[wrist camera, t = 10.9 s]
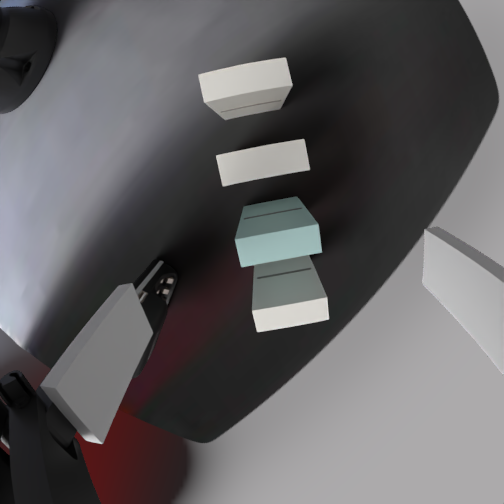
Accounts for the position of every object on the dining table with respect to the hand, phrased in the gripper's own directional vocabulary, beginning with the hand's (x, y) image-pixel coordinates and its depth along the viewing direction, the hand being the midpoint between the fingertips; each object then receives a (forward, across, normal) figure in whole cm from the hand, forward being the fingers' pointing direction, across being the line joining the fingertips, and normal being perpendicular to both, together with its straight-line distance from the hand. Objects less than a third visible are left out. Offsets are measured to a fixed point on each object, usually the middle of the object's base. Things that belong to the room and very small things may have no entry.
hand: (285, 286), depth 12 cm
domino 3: (+16, 0, 0) cm, 16 cm away
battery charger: (+16, -13, -6) cm, 21 cm away
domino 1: (+16, 0, +10) cm, 18 cm away
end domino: (+16, 0, -5) cm, 17 cm away
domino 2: (+16, 0, +5) cm, 16 cm away
